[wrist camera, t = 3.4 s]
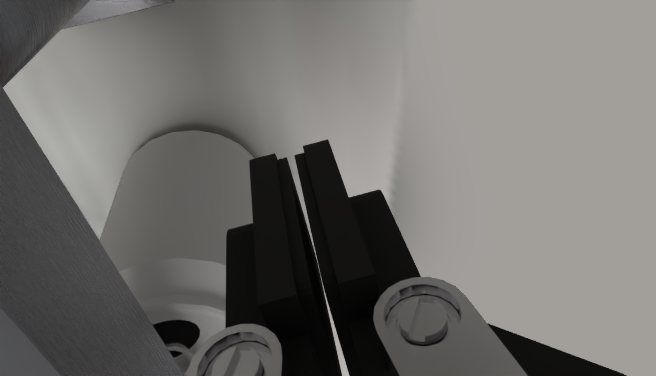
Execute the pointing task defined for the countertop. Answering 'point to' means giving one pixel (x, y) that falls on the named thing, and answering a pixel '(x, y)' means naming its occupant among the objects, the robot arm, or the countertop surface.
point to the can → (179, 232)
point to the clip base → (110, 9)
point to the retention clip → (57, 245)
